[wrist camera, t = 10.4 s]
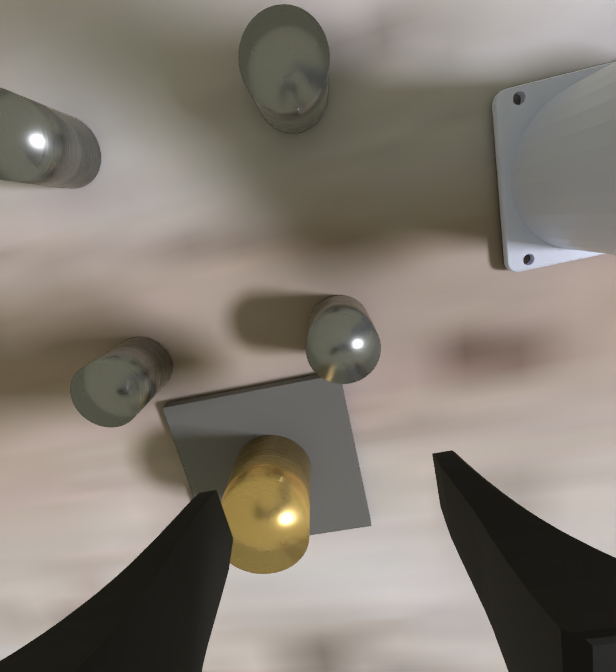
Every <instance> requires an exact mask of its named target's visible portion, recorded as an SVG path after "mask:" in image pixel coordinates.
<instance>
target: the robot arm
mask: <svg viewBox="0 0 616 672" xmlns="http://www.w3.org/2000/svg"><path fill="white" fill-rule="evenodd" d="M514 94H518V95H519V96H520V97H521V103H520V104H519V105H516V104H515V103H514V102H513V96H514ZM492 112H493V125H494V138H495V151H496V164H497V177H498V190H499V203H500V216H501V229H502V242H503V255H504V264H505V267H506V268H507V269H508V270H510V271H513V272H520V271H525V270H530V269H535V268H539V267H544V266H549V265H554V264H559V263H564V262H569V261H574V260H578V259H583V258H588V257H593V256H598V255H603V254H613V255H616V61H614V62H610V63H606V64H602V65H598V66H594V67H590V68H586V69H582V70H578V71H574V72H570V73H566V74H562V75H558V76H554V77H550V78H546V79H542V80H538V81H534V82H530V83H526V84H522V85H518V86H514V87H510V88H506V89H504V90H502V91H500V92H499V93H498V94H497V95H496V96H495V97H494V99H493V102H492ZM527 254H529V255H530V261H529V262H528V263H526V264H524V262H523V258H524V257H525V255H527ZM433 461H434V467H435V474H436V480H437V486H438V493H439V499H440V506H441V509H442V512H443V515H444V518H445V521H446V524H447V527H448V530H449V533H450V536H451V538H452V540H453V543H454V545H455V547H456V549H457V551H458V553H459V556H460V558H461V560H462V562H463V564H464V566H465V569H466V571H467V573H468V575H469V577H470V579H471V581H472V583H473V586H474V588H475V590H476V592H477V594H478V596H479V598H480V601H481V603H482V605H483V607H484V609H485V611H486V614H487V616H488V618H489V621H490V623H491V625H492V628H493V631H494V633H495V636H496V639H497V641H498V644H499V647H500V650H501V652H502V655H503V658H504V660H505V663H506V666H507V669H508V671H509V672H616V558H615V557H612V556H610V555H608V554H606V553H604V552H602V551H599V550H597V549H595V548H593V547H591V546H589V545H587V544H585V543H583V542H581V541H579V540H577V539H575V538H573V537H571V536H570V535H568V534H566V533H564V532H562V531H560V530H559V529H557V528H555V527H553V526H552V525H550V524H548V523H547V522H545V521H543V520H542V519H540V518H538V517H537V516H535V515H534V514H532V513H531V512H529V511H528V510H526V509H525V508H523V507H522V506H520V505H519V504H518V503H516V502H515V501H513V500H512V499H510V498H509V497H508V496H506V495H505V494H504V493H502V492H501V491H500V490H499V489H497V488H496V487H495V486H493V485H492V484H491V483H490V482H488V481H487V480H486V479H485V478H483V477H482V476H481V475H480V474H479V473H477V472H476V471H475V470H474V469H473V468H472V467H471V466H469V465H468V464H467V463H466V462H465V461H464V460H463V459H462V458H461V457H459V456H458V455H457V454H456V453H455V452H453V451H446V452H440V453H434V454H433ZM232 544H233V536H232V533H231V530H230V527H229V524H228V522H227V519H226V516H225V513H224V510H223V507H222V504H221V501H220V499H219V496H218V493H217V490H213V491H207V492H201V493H199V494H198V495H197V496H195V497H194V498H193V499H192V500H191V502H190V503H189V504H188V505H187V506H186V507H185V508H184V509H183V510H182V511H181V512H180V513H179V514H178V515H177V517H176V518H175V519H174V520H173V521H172V522H171V523H170V524H169V525H168V526H167V527H166V528H165V529H164V530H163V531H162V533H161V534H160V535H159V536H158V537H157V538H156V539H155V540H154V541H153V542H152V543H151V544H150V545H149V546H148V547H147V548H146V549H145V550H144V551H143V552H142V553H141V554H140V555H139V556H138V557H137V558H136V559H135V560H134V561H133V562H132V563H131V564H130V565H129V566H128V567H126V568H125V569H124V570H123V571H122V572H121V573H120V574H119V575H118V576H117V577H115V578H114V579H113V580H112V581H111V582H110V583H108V584H107V585H106V586H105V587H104V588H103V589H101V590H100V591H99V592H98V593H97V594H95V595H94V596H93V597H92V598H90V599H89V600H88V601H86V602H85V603H84V604H83V605H81V606H80V607H79V608H77V609H76V610H75V611H73V612H72V613H71V614H69V615H68V616H67V617H66V618H64V619H63V620H62V621H60V622H59V623H57V624H56V625H55V626H53V627H52V628H50V629H49V630H47V631H46V632H45V633H43V634H42V635H40V636H39V637H37V638H36V639H34V640H33V641H31V642H30V643H28V644H27V645H25V646H24V647H22V648H20V649H19V650H17V651H16V652H14V653H13V654H11V655H9V656H8V657H6V658H4V659H3V660H1V661H0V672H202V667H203V662H204V658H205V654H206V650H207V646H208V642H209V638H210V635H211V631H212V628H213V624H214V621H215V617H216V614H217V610H218V607H219V603H220V600H221V596H222V592H223V589H224V585H225V582H226V578H227V574H228V570H229V564H230V558H231V552H232Z"/></svg>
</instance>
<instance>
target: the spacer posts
mask: <svg viewBox="0 0 616 672" xmlns="http://www.w3.org/2000/svg"><path fill="white" fill-rule="evenodd" d="M239 67H240V72H241V75H242V78H243V81H244V83H245V85H246V87H247V88H248V90H249V92H250V94H251V95H252V97H253V99H254V101H255V102H256V104H257V106H258V108H259V109H260V111H261V113H262V115H263V116H264V118H265V119H266V121H267V122H268V123H269V124H270V125H271V126H273V127H274V128H276V129H277V130H279V131H282V132H285V133H300V132H303V131H305V130H307V129H309V128H311V127H312V126H313V125H314V124H316V123H317V121H318V120H319V119H320V117H321V116H322V114H323V112H324V110H325V107H326V104H327V98H328V80H329V47H328V42H327V39H326V36H325V34H324V32H323V30H322V28H321V26H320V25H319V23H318V22H317V21H316V19H315V18H314V17H313V16H312V15H310V14H309V13H308V12H306V11H305V10H303V9H301V8H299V7H296V6H293V5H286V4H283V5H275V6H271V7H269V8H266V9H265V10H263V11H261V12H260V13H258V14H257V15H256V16H255V17H254V18H253V19H252V20H251V22H250V23H249V24H248V26H247V27H246V29H245V31H244V33H243V36H242V39H241V42H240V47H239ZM100 164H101V153H100V148H99V144H98V142H97V139H96V137H95V136H94V134H93V133H92V131H91V130H90V129H89V128H88V127H87V126H86V125H85V124H84V123H83V122H81V121H80V120H78V119H76V118H74V117H72V116H69V115H67V114H64V113H62V112H59V111H57V110H54V109H52V108H49V107H47V106H45V105H42V104H40V103H37V102H35V101H32V100H30V99H27V98H25V97H23V96H20V95H18V94H15V93H13V92H10V91H8V90H5V89H2V88H0V179H1V180H6V181H15V182H23V183H31V184H39V185H48V186H56V187H64V188H80V187H83V186H86V185H87V184H89V183H90V182H91V181H92V180H93V179H94V178H95V177H96V175H97V173H98V171H99V168H100ZM380 352H381V345H380V339H379V336H378V334H377V332H376V330H375V327H374V325H373V323H372V321H371V319H370V317H369V315H368V313H367V311H366V309H365V308H364V307H363V305H362V304H361V303H360V302H358V301H357V300H355V299H354V298H351V297H349V296H344V295H336V296H331V297H328V298H326V299H324V300H322V301H321V302H320V303H318V304H317V305H316V307H315V308H314V309H313V311H312V313H311V316H310V319H309V327H308V335H307V343H306V355H307V359H308V362H309V364H310V366H311V367H312V369H313V370H314V371H315V373H317V374H318V375H319V376H320V377H321V378H323V379H325V380H327V381H329V382H332V383H337V384H348V383H353V382H356V381H359V380H361V379H363V378H364V377H366V376H367V375H368V374H369V373H370V372H371V371H372V370H373V369H374V368H375V366H376V364H377V362H378V360H379V357H380ZM171 374H172V361H171V358H170V356H169V354H168V352H167V351H166V349H165V348H164V347H163V346H162V345H161V344H159V343H158V342H156V341H154V340H152V339H150V338H146V337H134V338H130V339H128V340H126V341H125V342H123V343H121V344H120V345H118V346H117V347H115V348H113V349H112V350H110V351H109V352H107V353H105V354H104V355H102V356H101V357H99V358H97V359H96V360H94V361H93V362H91V363H89V364H88V365H86V366H85V367H83V368H81V369H80V370H79V371H78V372H77V373H76V374H75V376H74V377H73V379H72V382H71V387H70V393H71V398H72V401H73V403H74V405H75V407H76V409H77V410H78V411H79V413H80V414H81V415H82V416H83V417H85V418H86V419H87V420H89V421H90V422H92V423H94V424H97V425H99V426H103V427H118V426H122V425H125V424H127V423H128V422H130V421H131V420H132V419H133V418H134V417H135V416H136V415H137V414H138V413H139V412H140V411H141V410H142V409H143V408H144V406H145V405H146V404H147V403H148V402H149V401H150V400H151V399H152V398H153V397H154V396H155V395H156V394H157V393H158V392H159V391H160V390H161V388H162V387H163V386H164V385H165V384H166V383H167V382H168V381H169V379H170V377H171Z"/></svg>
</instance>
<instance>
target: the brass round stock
mask: <svg viewBox="0 0 616 672" xmlns="http://www.w3.org/2000/svg"><path fill="white" fill-rule="evenodd" d="M310 490H311V464H310V460H309V458H308V455H307V454H306V452H305V451H304V449H303V448H302V447H301V446H300V445H299V444H297V443H296V442H294V441H293V440H291V439H288V438H286V437H283V436H278V435H265V436H260V437H257V438H255V439H253V440H251V441H249V442H248V443H246V444H245V445H244V446H243V447H242V448H241V450H240V451H239V453H238V455H237V458H236V460H235V463H234V466H233V469H232V472H231V475H230V478H229V480H228V483H227V486H226V489H225V492H224V495H223V498H222V500H221V504H222V507H223V510H224V513H225V516H226V519H227V522H228V524H229V527H230V530H231V533H232V536H233V544H232V552H231V558H230V563H231V564H232V565H234V566H235V567H237V568H239V569H242V570H244V571H247V572H251V573H257V574H270V573H276V572H279V571H283V570H285V569H287V568H289V567H291V566H292V565H294V564H295V563H297V562H298V561H299V560H300V559H301V557H302V556H303V555H304V553H305V551H306V549H307V547H308V543H309V526H310Z"/></svg>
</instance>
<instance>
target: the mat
mask: <svg viewBox="0 0 616 672" xmlns="http://www.w3.org/2000/svg"><path fill="white" fill-rule="evenodd" d="M162 409H163V412H164V414H165V417H166V420H167V423H168V425H169V428H170V431H171V434H172V437H173V439H174V442H175V445H176V448H177V451H178V453H179V456H180V459H181V462H182V465H183V467H184V470H185V473H186V476H187V479H188V481H189V484H190V487H191V490H192V493H193V495H194V497H195V496H197V495H198V494H199V493H201V492H207V491H213V490H217V493H218V496H219V499H220V501H221V500H222V498H223V495H224V492H225V489H226V486H227V483H228V480H229V478H230V475H231V472H232V469H233V466H234V463H235V460H236V458H237V455H238V453H239V451H240V450H241V448H242V447H243V446H244V445H245V444H246V443H248V442H249V441H251V440H253V439H255V438H257V437H260V436H265V435H278V436H283V437H286V438H288V439H291V440H293V441H294V442H296V443H297V444H299V445H300V446H301V447H302V448H303V449H304V451H305V452H306V454H307V455H308V458H309V460H310V464H311V490H310V526H309V535H314V534H321V533H327V532H334V531H340V530H347V529H354V528H360V527H367V526H371V520H370V515H369V510H368V506H367V501H366V496H365V491H364V487H363V482H362V477H361V472H360V468H359V463H358V458H357V453H356V449H355V444H354V439H353V434H352V430H351V425H350V420H349V415H348V411H347V406H346V401H345V396H344V392H343V387H342V384H337V383H332V382H329V381H327V380H325V379H323V378H321V377H320V376H319V375H318V374H317V375H312V376H306V377H301V378H296V379H291V380H285V381H280V382H275V383H270V384H264V385H259V386H254V387H249V388H243V389H238V390H233V391H228V392H222V393H217V394H212V395H207V396H201V397H196V398H191V399H186V400H180V401H175V402H170V403H166V404H165V405H164V407H163V408H162Z"/></svg>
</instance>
